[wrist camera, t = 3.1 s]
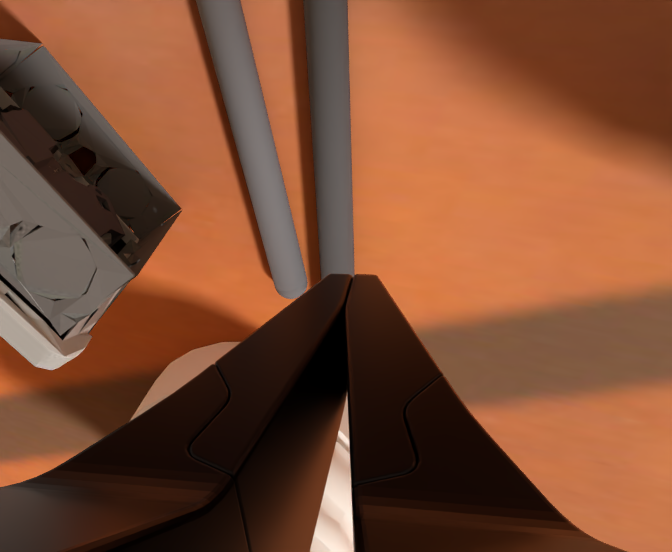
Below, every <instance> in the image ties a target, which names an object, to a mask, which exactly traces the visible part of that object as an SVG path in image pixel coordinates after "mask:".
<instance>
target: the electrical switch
mask: <svg viewBox="0 0 672 552" xmlns="http://www.w3.org/2000/svg"><path fill="white" fill-rule="evenodd" d="M41 44H42V43H33V42H25V41H16V40H7V39H0V336H1V337H2V338H3V339H4V340H6V341H7V342H8V343H9V344H10V345H11V346H12V347H13V348H15V349H16V350H17V351H18V352H19V353H20V354H21V355H22V356H24V357H25V358H26V359H27V360H28V361H29V362H30V363H31V364H33V365H34V366H35V367H39V368H43V369H48V370H54V369H57V368H59V367H60V366H62V365H64V364H65V363H67V362H69V361H70V360H72V359H73V358H75V357H77V356H78V355H79V354H80V353H81V352H82V351H83V350H84V349H85V348H86V347H87V345H88V343H89V341H90V340H91V338H92V336H91V335H89V333H90V331H91V330H92V328H93V327H94V325H95V324H96V323H97V322H98V320H99V319H100V318H101V317H102V315H103V314H104V313H105V312H106V310H107V309H108V308H109V307H110V305H111V304H112V303H113V302H114V300H115V299H116V298H117V297H118V295H119V294H120V293H121V292H122V290H123V289H124V288H125V287H126V285H127V284H128V283H129V282H130V280H132V279H133V278H135V277H136V276H137V275H138V274H139V272H140V271H141V269H142V268H143V266H144V265H145V263H146V262H147V261H148V259H149V258H150V256H151V255H152V253H153V252H154V250H155V249H156V247H157V246H158V245H159V243H160V242H161V240H162V239H163V237H164V236H165V234H166V233H167V231H168V230H169V229H170V227H171V226H172V224H173V223H174V221H175V220H176V218H177V217H178V215H179V214H180V213H181V211H182V210H181V211H180V212H178V213H177V214H176V215H174V214H175V213H176V212H177V211H179V210H180V207H179V206H178V205H177V204H176V202H175V201H174V200H173V199H172V198H171V196H170V195H169V194H168V193H167V192H166V190H165V189H164V188H163V187H162V186H161V185H160V183H159V182H158V181H157V180H156V179H155V177H154V176H153V175H152V174H151V173H150V171H149V170H148V169H147V168H146V167H145V166H144V164H143V163H142V162H141V161H140V160H139V158H138V157H137V156H136V155H135V154H134V153H133V151H132V150H131V149H130V148H129V147H128V145H127V144H126V143H125V142H124V141H123V139H122V138H121V137H120V136H119V135H118V134H117V132H116V131H115V130H114V129H113V128H112V126H111V125H110V124H109V123H108V122H107V120H106V119H105V118H104V117H103V116H102V115H101V113H100V112H99V111H98V110H97V109H96V107H95V106H94V105H93V104H92V103H91V101H90V100H89V99H88V98H87V97H86V96H85V94H84V93H83V92H82V91H81V90H80V88H79V87H78V86H77V85H76V84H75V82H74V81H73V80H72V79H71V78H70V77H69V75H68V74H67V73H66V72H65V71H64V69H63V68H62V67H61V66H60V65H59V64H58V62H57V61H56V60H55V59H54V58H53V56H52V55H51V54H50V53H49V52H48V50H47V49H46V48H45V47H44V46H42V47H41V48H40V49H38V50H37V51H36V52H34V53H33V54H32V55H31V56H29V55H30V54H31V53H32V52H33V51H34V50H36V49H37V48H38V47H39V46H40V45H41ZM5 49H6V50H5ZM28 56H29V57H28ZM27 57H28V58H27ZM25 58H27V59H25ZM24 59H25V60H24ZM23 60H24V61H23ZM22 61H23V62H22ZM30 87H34V88H33V89H32V90H31V91H29V89H30ZM62 88H65V89H67V90H68V91H66V90H64V89H62ZM6 91H8V92H11V93H13V94H12V96H11V98H10V96H9V95H8V94H7V93H6ZM78 107H79V108H78ZM22 109H23V110H22ZM79 109H80V110H81V112H82V113H83V115H82V117H81V114H80V111H79ZM79 126H80V128H79V132H78V133H77V134H76V135H75V136H74V137H73V138H71V139H68V140H66V141H63V142H61V143H60V142H57V141H55V140H60V139H62V138H64V137H66V136H67V135H69V134H71V133H73V132H74V131H76V130H77V129H78V127H79ZM53 139H54V140H53ZM61 146H62V148H61ZM83 146H84V147H86V148H88V149H90V150H92V151H93V153H94V154H95V156H96V164H95V165H94V166H93V167H92V168H91V169H90V170H89V171H88V172H87V173H86V174H85V175H84V176H83V174H82V173H81V172H80V170H79V169H78V168H77V166H76V165H75V164H74V162H73V161H72V160H71V158H70V157H69V156H68V155H69V154H71V153H73V152H74V151H76V150H78V149H80V148H82V147H83ZM109 167H112V168H114V169H109V170H108V172H107V173H106V174H105V175H104V176H103V177H102V178H101V179H100V180H99V181H98V182H97V187H96V180H97V179H98V177H99V176H100V174H101V173H102V172H103V171H104V170H106V169H107V168H109ZM134 170H135V171H134ZM136 171H138V172H139V174H140V175H139V174H138V173H137V172H136ZM90 179H91V180H92V181H91V180H90ZM147 205H148V206H147ZM146 206H147V207H146ZM172 215H174V216H173V217H171V216H172ZM170 217H171V218H170ZM169 218H170V219H169ZM128 219H129V220H128ZM167 219H168V220H167ZM166 220H167V221H166ZM162 223H163V224H162ZM129 225H130V227H131V228H132V230H133V231H134V233H133V232H132V231H131V229H130V228H129V227H128V226H129Z"/></svg>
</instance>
